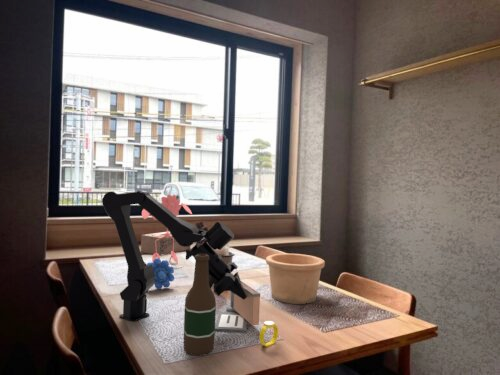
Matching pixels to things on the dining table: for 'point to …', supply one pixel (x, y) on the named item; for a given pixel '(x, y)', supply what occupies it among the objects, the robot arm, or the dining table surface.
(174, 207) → the pink tall branching piece
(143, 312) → the robot arm
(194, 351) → the beer bottle
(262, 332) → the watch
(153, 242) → the tissue box cover
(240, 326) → the label board
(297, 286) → the pottery
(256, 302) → the tan grey flat panel
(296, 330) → the dining table surface
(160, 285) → the grapes
